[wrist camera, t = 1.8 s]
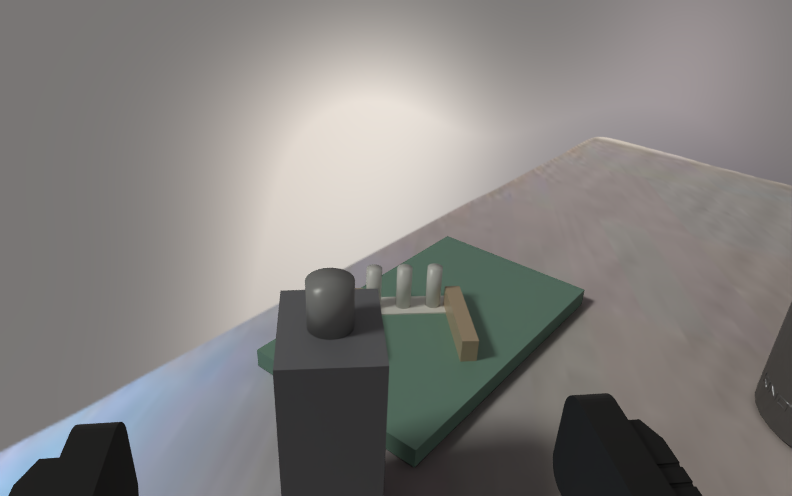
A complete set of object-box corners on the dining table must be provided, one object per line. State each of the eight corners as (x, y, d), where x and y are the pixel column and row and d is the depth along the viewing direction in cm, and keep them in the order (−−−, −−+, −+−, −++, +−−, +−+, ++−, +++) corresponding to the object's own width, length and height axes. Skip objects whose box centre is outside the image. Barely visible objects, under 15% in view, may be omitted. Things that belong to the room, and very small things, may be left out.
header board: (446, 248, 52) (450, 202, 50) (581, 303, 46) (592, 253, 44) (258, 365, 38) (253, 308, 36) (414, 467, 32) (419, 405, 30)
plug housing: (372, 473, 32) (379, 246, 25) (380, 565, 27) (391, 319, 21) (291, 477, 31) (278, 248, 25) (286, 571, 27) (269, 322, 21)
